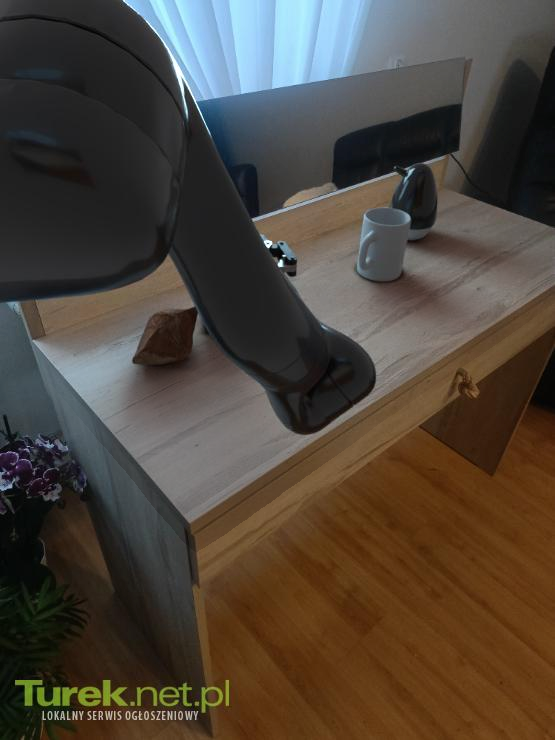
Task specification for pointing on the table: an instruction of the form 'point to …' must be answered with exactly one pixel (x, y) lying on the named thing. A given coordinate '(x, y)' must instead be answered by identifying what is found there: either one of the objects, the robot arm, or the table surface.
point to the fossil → (167, 337)
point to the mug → (383, 243)
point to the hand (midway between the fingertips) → (226, 242)
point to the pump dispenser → (417, 198)
